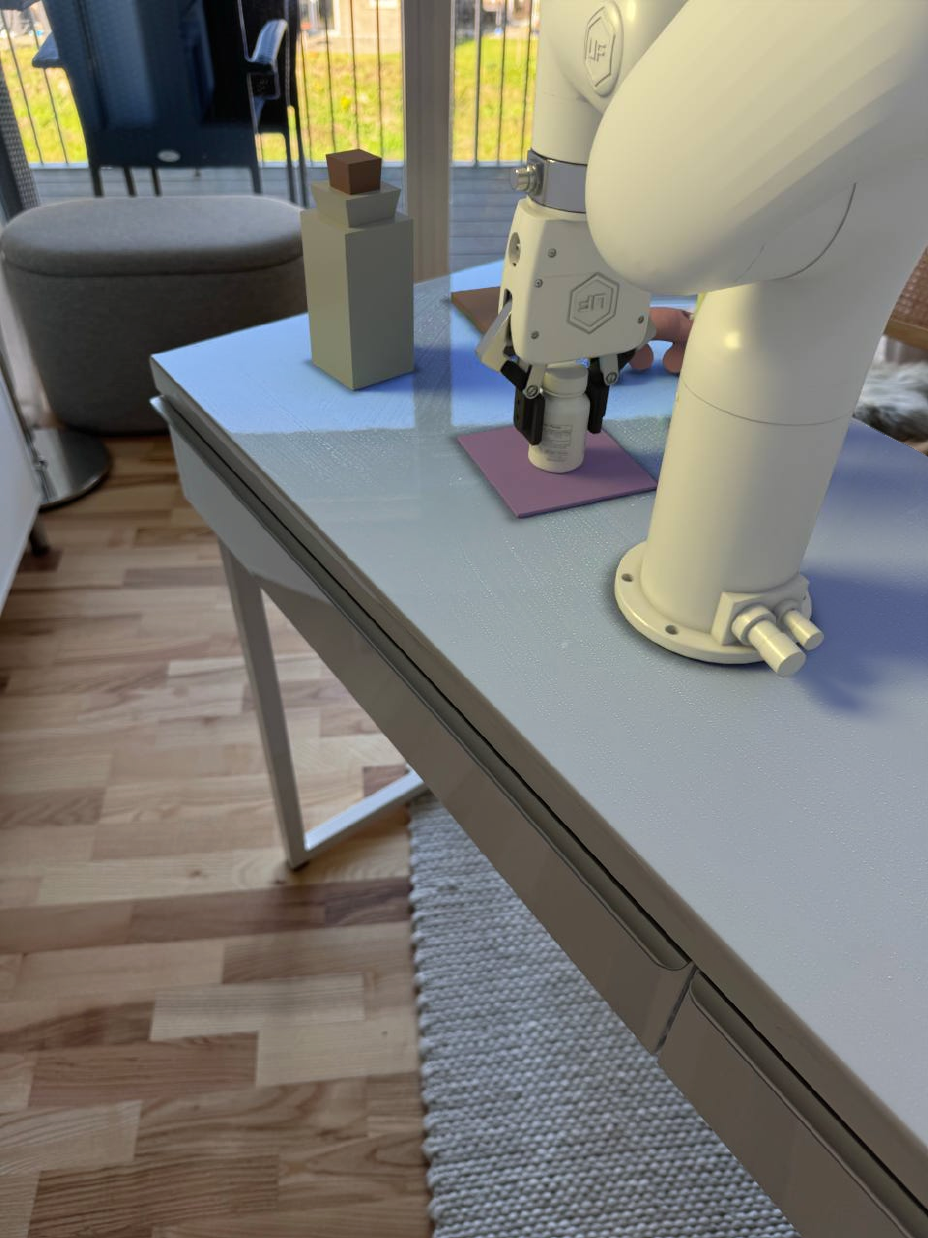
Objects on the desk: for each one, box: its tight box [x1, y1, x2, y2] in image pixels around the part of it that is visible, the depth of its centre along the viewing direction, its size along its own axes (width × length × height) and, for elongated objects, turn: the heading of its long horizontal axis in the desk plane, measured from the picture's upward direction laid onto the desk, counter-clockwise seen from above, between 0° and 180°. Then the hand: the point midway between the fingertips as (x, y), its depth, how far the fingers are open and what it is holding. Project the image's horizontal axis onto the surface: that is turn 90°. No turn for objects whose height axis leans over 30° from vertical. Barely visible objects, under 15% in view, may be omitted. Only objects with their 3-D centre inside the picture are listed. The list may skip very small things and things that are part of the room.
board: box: [450, 285, 516, 357], centre depth 94 cm, size 14×12×1 cm
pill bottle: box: [528, 361, 590, 473], centre depth 70 cm, size 4×4×8 cm
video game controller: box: [619, 306, 695, 375], centre depth 84 cm, size 10×5×7 cm, turn 84°
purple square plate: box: [456, 425, 658, 519], centre depth 73 cm, size 12×12×1 cm
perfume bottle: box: [299, 148, 415, 392], centre depth 79 cm, size 7×7×18 cm
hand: (558, 428), depth 71 cm, fingers closed on pill bottle, 4 cm apart
